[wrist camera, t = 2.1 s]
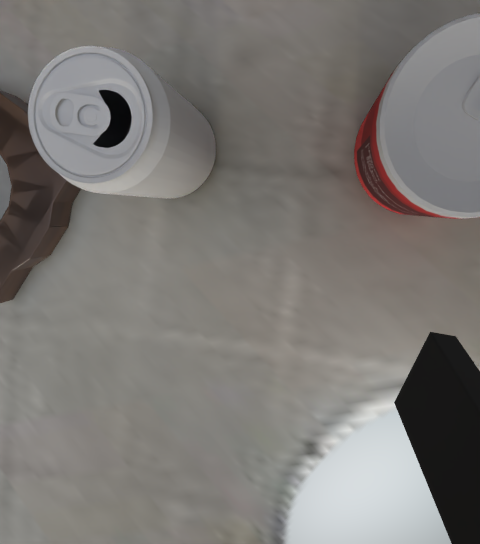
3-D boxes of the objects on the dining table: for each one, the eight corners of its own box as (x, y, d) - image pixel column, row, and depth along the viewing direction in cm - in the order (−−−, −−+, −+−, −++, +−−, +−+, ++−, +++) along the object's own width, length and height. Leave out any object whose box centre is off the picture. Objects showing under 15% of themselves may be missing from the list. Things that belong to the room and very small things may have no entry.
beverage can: (210, 205, 31) (151, 203, 19) (122, 191, 32) (12, 180, 20) (225, 109, 30) (171, 44, 18) (133, 96, 31) (24, 26, 19)
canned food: (493, 92, 27) (613, 18, 17) (464, 224, 29) (557, 233, 18) (365, 78, 28) (400, -1, 18) (342, 206, 30) (361, 204, 19)
